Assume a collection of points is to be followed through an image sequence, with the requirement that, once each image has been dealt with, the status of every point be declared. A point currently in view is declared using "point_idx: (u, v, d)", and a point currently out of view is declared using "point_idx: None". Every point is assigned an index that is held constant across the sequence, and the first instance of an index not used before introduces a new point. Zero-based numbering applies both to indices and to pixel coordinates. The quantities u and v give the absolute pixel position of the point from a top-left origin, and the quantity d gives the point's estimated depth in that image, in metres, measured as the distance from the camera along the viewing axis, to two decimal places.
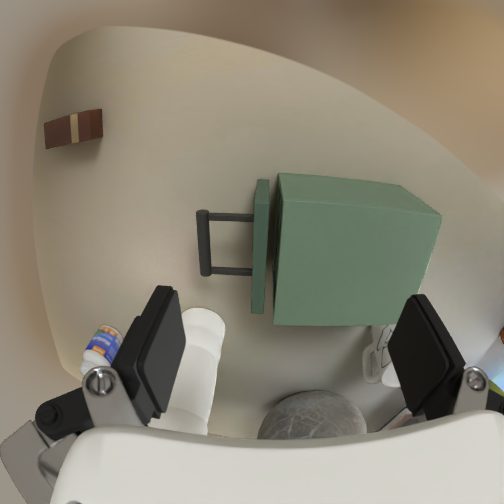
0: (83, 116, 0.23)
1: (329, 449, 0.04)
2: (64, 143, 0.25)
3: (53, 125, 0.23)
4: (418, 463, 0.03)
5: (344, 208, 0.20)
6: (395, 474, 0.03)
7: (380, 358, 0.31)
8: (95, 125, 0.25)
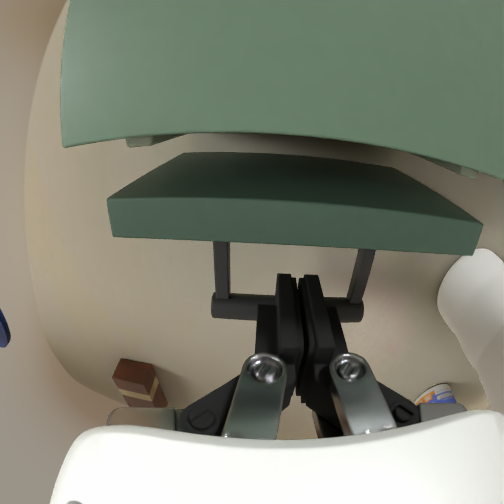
0: (119, 384, 0.22)
1: (329, 449, 0.04)
2: (153, 406, 0.23)
3: None
4: (418, 463, 0.03)
5: None
6: (395, 474, 0.03)
7: None
8: (133, 372, 0.22)
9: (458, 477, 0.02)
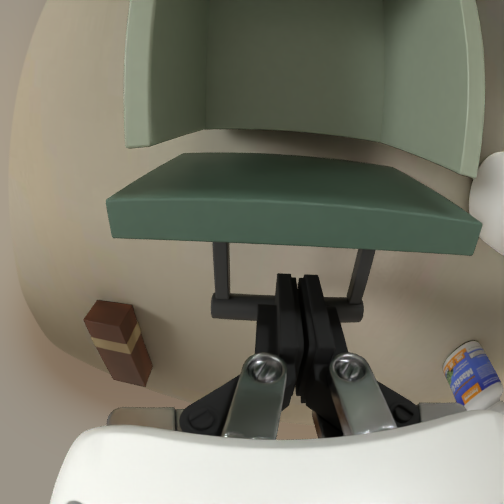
0: (92, 329, 0.18)
1: (329, 449, 0.04)
2: (132, 363, 0.20)
3: (113, 369, 0.21)
4: (418, 463, 0.03)
5: None
6: (395, 474, 0.03)
7: None
8: (109, 313, 0.19)
9: (458, 477, 0.02)
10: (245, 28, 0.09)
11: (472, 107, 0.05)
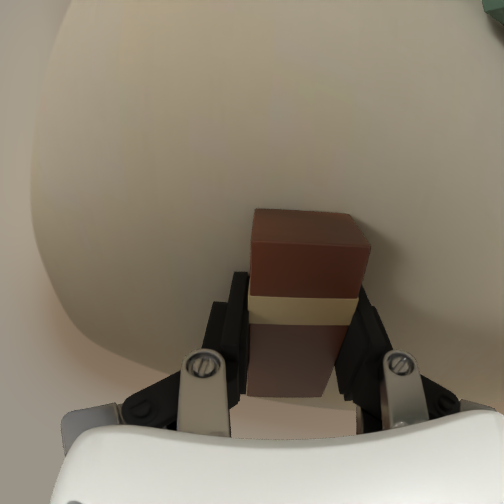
0: (270, 271, 0.08)
1: (329, 449, 0.04)
2: (336, 349, 0.10)
3: (264, 375, 0.10)
4: (418, 463, 0.03)
5: None
6: (395, 474, 0.03)
7: None
8: (316, 226, 0.08)
9: (458, 477, 0.02)
10: None
11: None
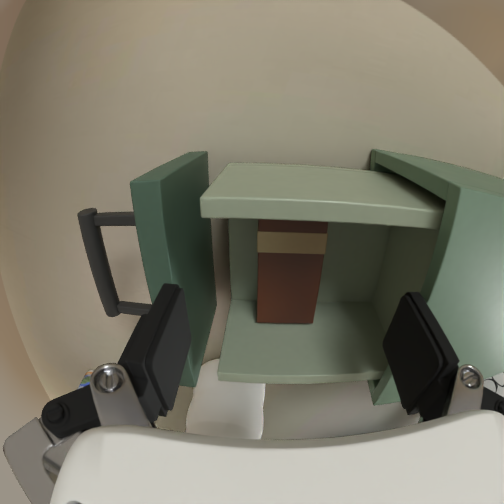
0: None
1: (329, 449, 0.04)
2: (318, 274, 0.15)
3: (269, 299, 0.16)
4: (418, 463, 0.03)
5: None
6: (395, 474, 0.03)
7: None
8: None
9: (458, 477, 0.02)
10: None
11: (256, 377, 0.13)
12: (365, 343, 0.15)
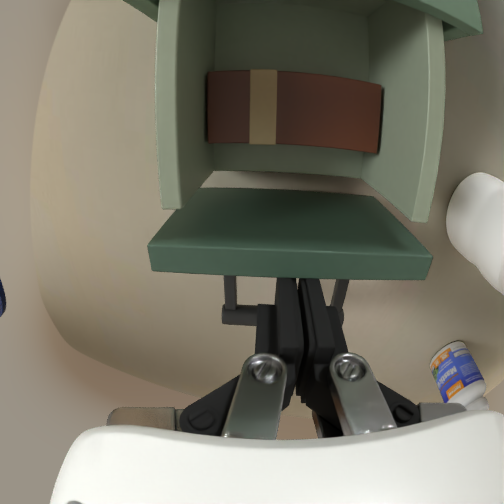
0: (228, 130, 0.11)
1: (329, 449, 0.04)
2: (306, 76, 0.10)
3: (342, 134, 0.11)
4: (418, 463, 0.03)
5: None
6: (395, 474, 0.03)
7: None
8: None
9: (458, 477, 0.02)
10: None
11: (425, 169, 0.08)
12: (399, 21, 0.07)
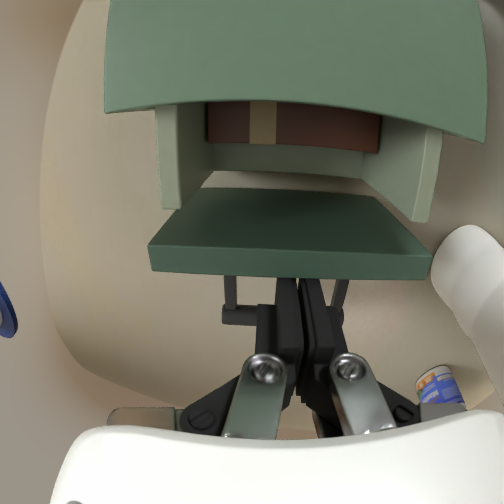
0: (228, 130, 0.11)
1: (329, 449, 0.04)
2: None
3: (342, 134, 0.11)
4: (418, 463, 0.03)
5: None
6: (395, 474, 0.03)
7: None
8: None
9: (458, 477, 0.02)
10: None
11: (426, 169, 0.08)
12: None
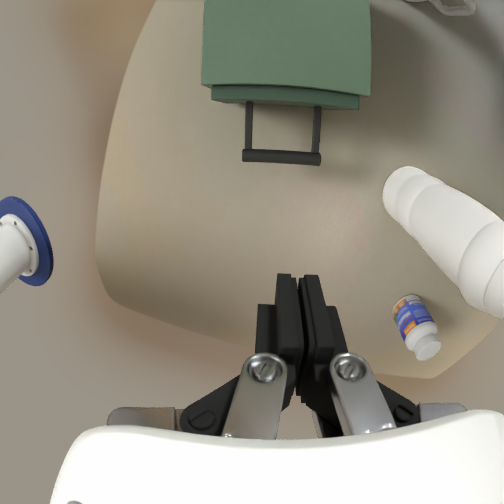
0: None
1: (329, 449, 0.04)
2: None
3: None
4: (418, 463, 0.03)
5: (207, 28, 0.15)
6: (395, 474, 0.03)
7: None
8: None
9: (458, 477, 0.02)
10: None
11: None
12: None
